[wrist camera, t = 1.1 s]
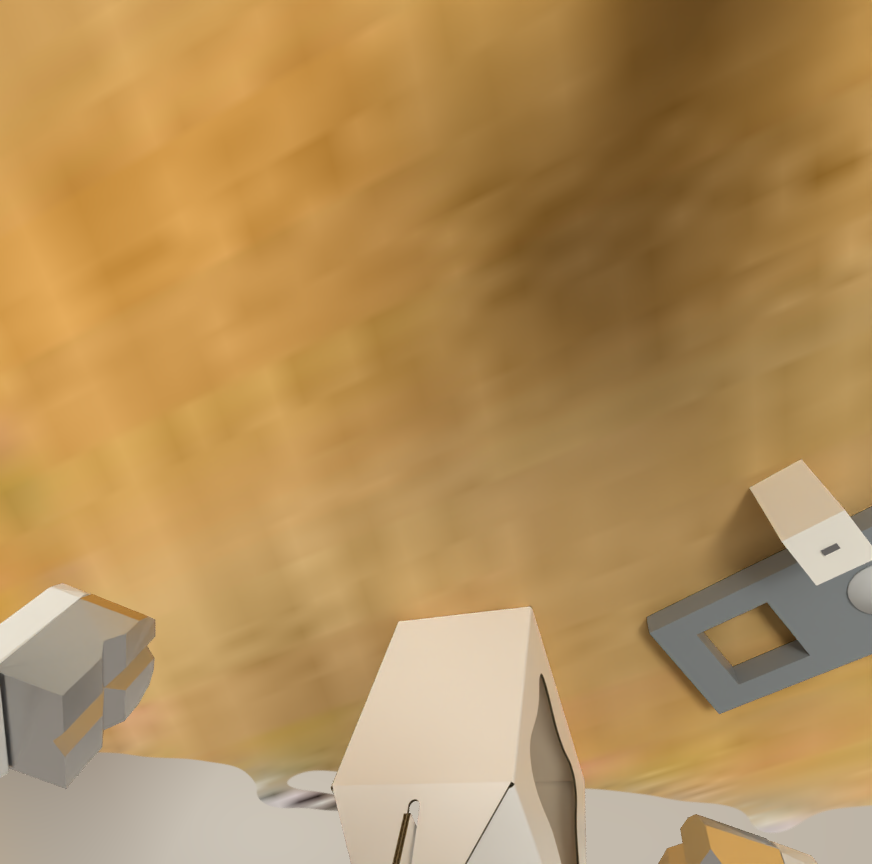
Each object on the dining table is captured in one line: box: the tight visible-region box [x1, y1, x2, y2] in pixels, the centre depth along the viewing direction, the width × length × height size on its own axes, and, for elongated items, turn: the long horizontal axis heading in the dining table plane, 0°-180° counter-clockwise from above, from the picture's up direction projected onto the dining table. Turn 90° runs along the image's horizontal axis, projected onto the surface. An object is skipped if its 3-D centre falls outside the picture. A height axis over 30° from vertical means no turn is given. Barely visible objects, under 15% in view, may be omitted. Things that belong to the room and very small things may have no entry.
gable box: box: [331, 607, 586, 864], centre depth 45 cm, size 22×13×28 cm, turn 18°
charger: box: [750, 459, 872, 586], centre depth 40 cm, size 4×4×8 cm
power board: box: [647, 507, 872, 714], centre depth 45 cm, size 22×10×2 cm, turn 132°
